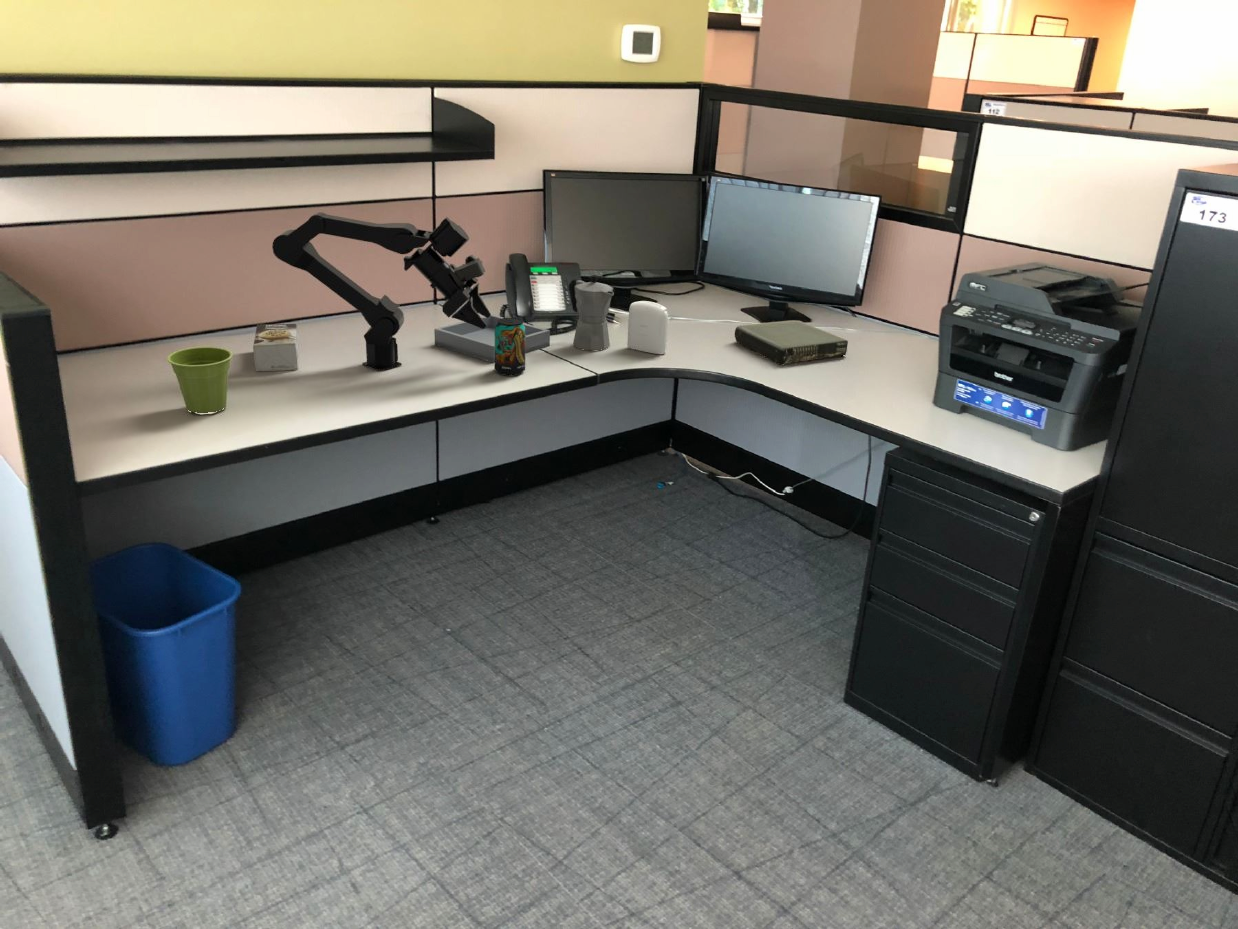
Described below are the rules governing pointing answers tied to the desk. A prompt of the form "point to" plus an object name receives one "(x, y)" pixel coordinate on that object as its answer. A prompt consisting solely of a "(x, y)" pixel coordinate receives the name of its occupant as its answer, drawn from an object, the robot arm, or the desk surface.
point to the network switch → (790, 341)
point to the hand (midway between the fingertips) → (487, 321)
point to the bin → (485, 338)
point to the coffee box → (276, 347)
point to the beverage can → (510, 346)
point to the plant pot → (202, 377)
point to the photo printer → (647, 327)
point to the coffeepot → (591, 313)
